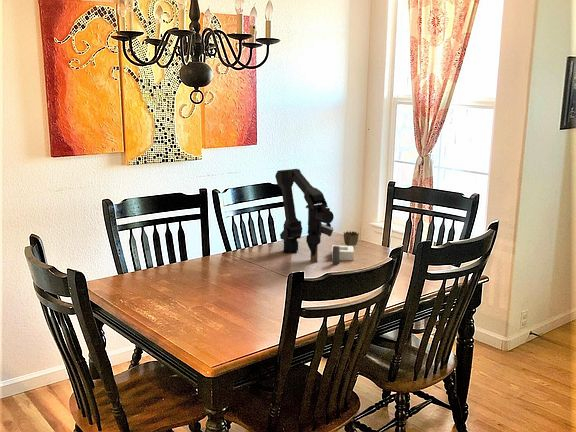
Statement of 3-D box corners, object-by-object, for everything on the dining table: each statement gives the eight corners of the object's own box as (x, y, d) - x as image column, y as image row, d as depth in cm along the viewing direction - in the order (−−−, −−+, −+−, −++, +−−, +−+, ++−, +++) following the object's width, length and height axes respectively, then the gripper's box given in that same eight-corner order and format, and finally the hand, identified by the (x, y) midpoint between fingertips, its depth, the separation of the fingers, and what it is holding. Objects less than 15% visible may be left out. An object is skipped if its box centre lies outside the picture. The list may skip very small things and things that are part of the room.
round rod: (332, 264, 264) (332, 247, 262) (332, 262, 267) (333, 245, 265) (339, 264, 263) (339, 247, 262) (339, 262, 266) (339, 245, 265)
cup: (340, 247, 290) (340, 231, 289) (353, 245, 294) (353, 230, 292) (348, 251, 284) (348, 235, 282) (361, 249, 287) (361, 233, 285)
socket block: (331, 259, 271) (331, 251, 270) (332, 253, 281) (332, 245, 280) (353, 260, 270) (353, 251, 269) (353, 254, 280) (353, 245, 279)
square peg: (310, 262, 267) (310, 245, 266) (310, 260, 270) (311, 243, 269) (317, 262, 267) (317, 245, 265) (317, 260, 270) (317, 243, 268)
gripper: (332, 224, 255) (331, 259, 258) (332, 215, 273) (332, 247, 276) (306, 224, 256) (306, 258, 259) (308, 214, 274) (308, 246, 277)
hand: (314, 252), depth 268 cm, fingers open, 9 cm apart
